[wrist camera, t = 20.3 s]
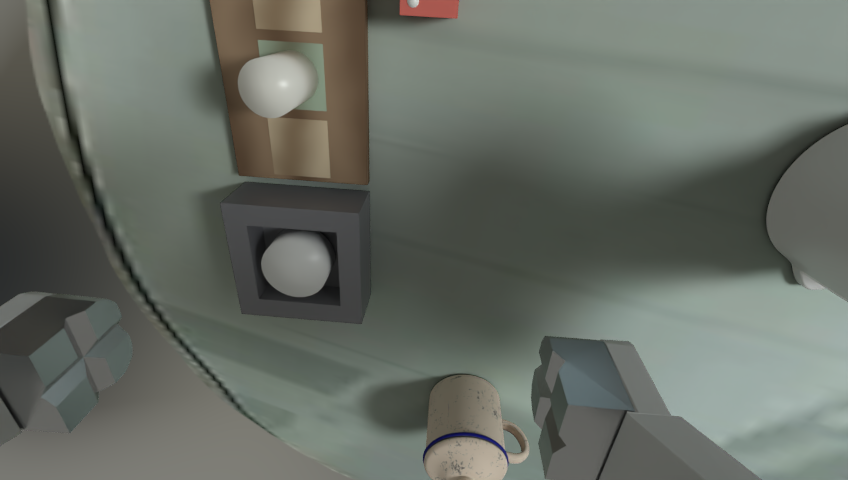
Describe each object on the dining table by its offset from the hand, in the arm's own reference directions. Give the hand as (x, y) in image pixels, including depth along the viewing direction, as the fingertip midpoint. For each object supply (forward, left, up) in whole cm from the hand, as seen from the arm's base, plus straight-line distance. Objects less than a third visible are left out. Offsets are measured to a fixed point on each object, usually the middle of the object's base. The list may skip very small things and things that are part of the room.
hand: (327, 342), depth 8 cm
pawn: (+11, 0, -30) cm, 32 cm away
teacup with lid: (-8, +37, -31) cm, 49 cm away
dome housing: (+11, +16, -31) cm, 37 cm away
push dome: (+11, +16, -29) cm, 35 cm away
